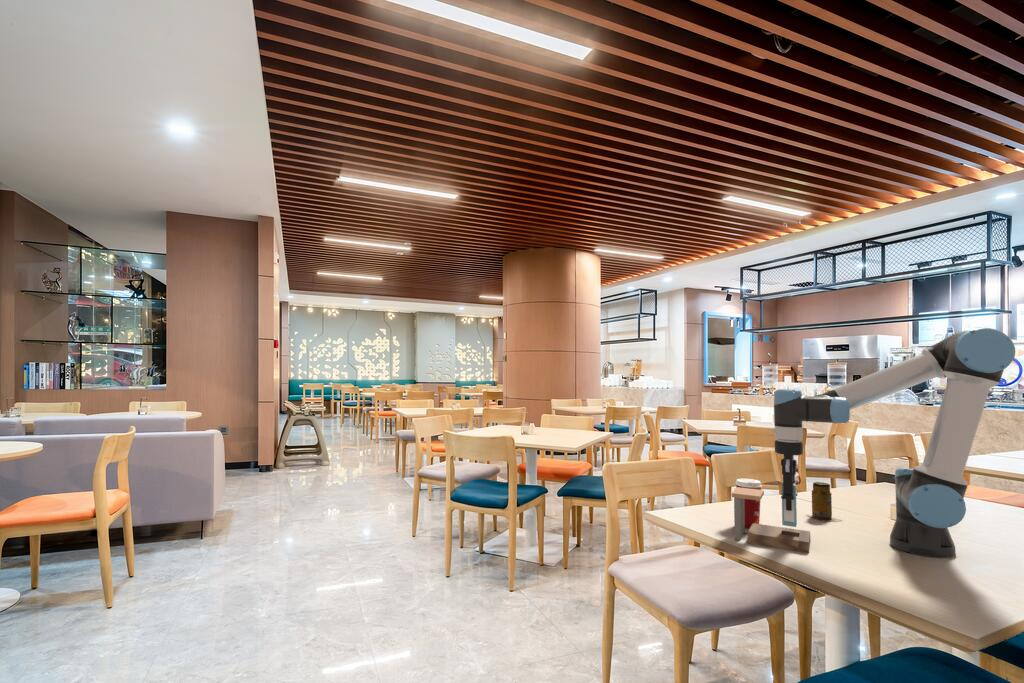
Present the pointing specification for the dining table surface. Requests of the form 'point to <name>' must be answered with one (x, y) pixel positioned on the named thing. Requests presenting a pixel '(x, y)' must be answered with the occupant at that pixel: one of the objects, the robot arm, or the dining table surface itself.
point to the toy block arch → (739, 508)
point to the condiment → (822, 502)
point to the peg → (793, 524)
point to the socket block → (779, 537)
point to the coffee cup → (750, 501)
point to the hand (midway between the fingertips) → (789, 519)
